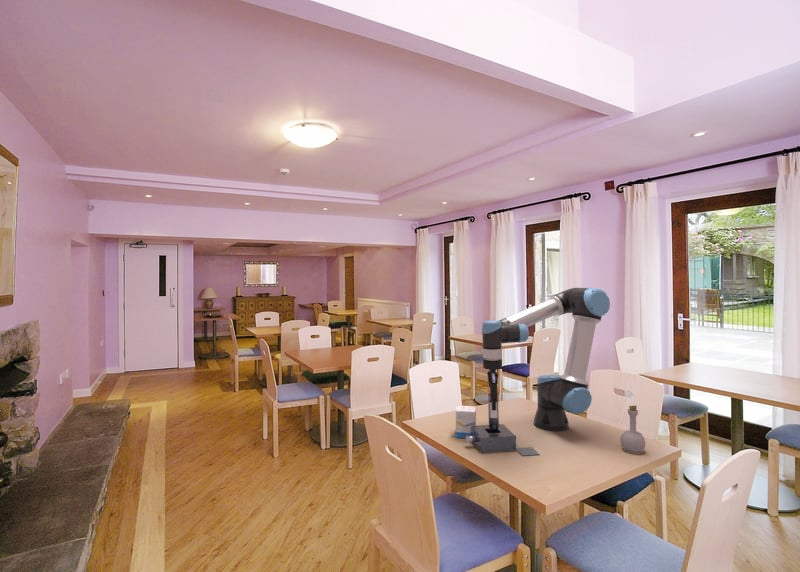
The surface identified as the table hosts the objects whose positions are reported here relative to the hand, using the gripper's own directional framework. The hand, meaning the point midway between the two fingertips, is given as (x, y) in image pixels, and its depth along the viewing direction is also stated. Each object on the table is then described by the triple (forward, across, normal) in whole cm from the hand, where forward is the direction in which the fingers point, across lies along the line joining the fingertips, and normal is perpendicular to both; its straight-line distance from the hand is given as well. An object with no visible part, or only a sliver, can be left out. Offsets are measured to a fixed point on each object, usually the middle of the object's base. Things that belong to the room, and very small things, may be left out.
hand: (493, 415), depth 174 cm
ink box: (+12, -10, -11) cm, 20 cm away
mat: (+12, +6, +12) cm, 18 cm away
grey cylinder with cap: (+5, 0, 0) cm, 5 cm away
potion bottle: (+13, -1, +54) cm, 55 cm away
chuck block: (+12, +1, -3) cm, 12 cm away
